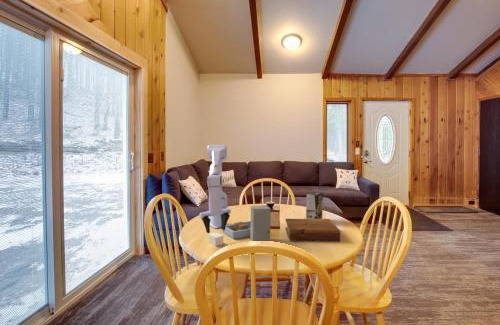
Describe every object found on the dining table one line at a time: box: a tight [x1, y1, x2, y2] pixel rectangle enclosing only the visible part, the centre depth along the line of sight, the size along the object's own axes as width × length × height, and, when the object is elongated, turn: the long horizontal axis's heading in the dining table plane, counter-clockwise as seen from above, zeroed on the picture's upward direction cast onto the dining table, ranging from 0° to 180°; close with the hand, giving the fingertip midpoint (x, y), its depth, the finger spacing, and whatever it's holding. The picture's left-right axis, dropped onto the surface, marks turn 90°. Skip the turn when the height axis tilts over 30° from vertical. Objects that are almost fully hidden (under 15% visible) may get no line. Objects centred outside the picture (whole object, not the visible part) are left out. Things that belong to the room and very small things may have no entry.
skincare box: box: [249, 205, 272, 242], centre depth 129 cm, size 8×7×16 cm
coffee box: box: [305, 191, 324, 219], centre depth 158 cm, size 9×6×16 cm
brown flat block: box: [284, 218, 341, 242], centre depth 137 cm, size 23×19×6 cm
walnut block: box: [233, 221, 248, 232], centre depth 138 cm, size 6×4×4 cm
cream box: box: [208, 231, 224, 247], centre depth 126 cm, size 6×4×4 cm, turn 38°
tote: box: [222, 220, 251, 240], centre depth 140 cm, size 11×18×3 cm, turn 123°
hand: (215, 231), depth 126 cm, fingers open, 7 cm apart
